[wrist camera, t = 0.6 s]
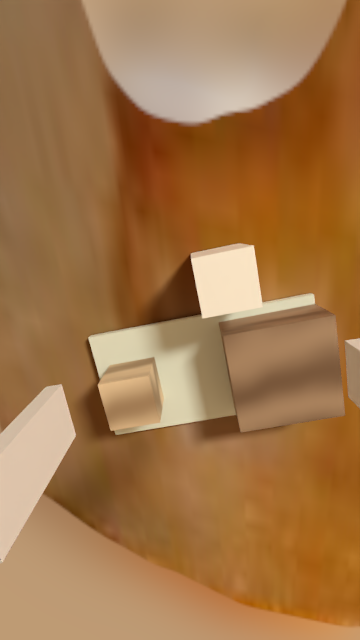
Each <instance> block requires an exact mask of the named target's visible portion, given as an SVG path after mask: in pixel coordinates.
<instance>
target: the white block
mask: <svg viewBox="0 0 360 640" xmlns="http://www.w3.org/2000/svg"><path fill="white" fill-rule="evenodd" d="M191 262H192V267H193V272H194V277H195V282H196V288H197V293H198V298H199V303H200V308H201V313H202V318H209V317H214V316H219V315H224V314H230V313H235V312H240V311H245V310H250V309H256V308H261V307H263V305H262V298H261V292H260V285H259V278H258V272H257V265H256V258H255V251H254V246H252V245H246V244H241V243H238V244H233V245H228V246H224V247H219V248H214V249H209V250H204V251H199V252H195V253H191Z"/></svg>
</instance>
